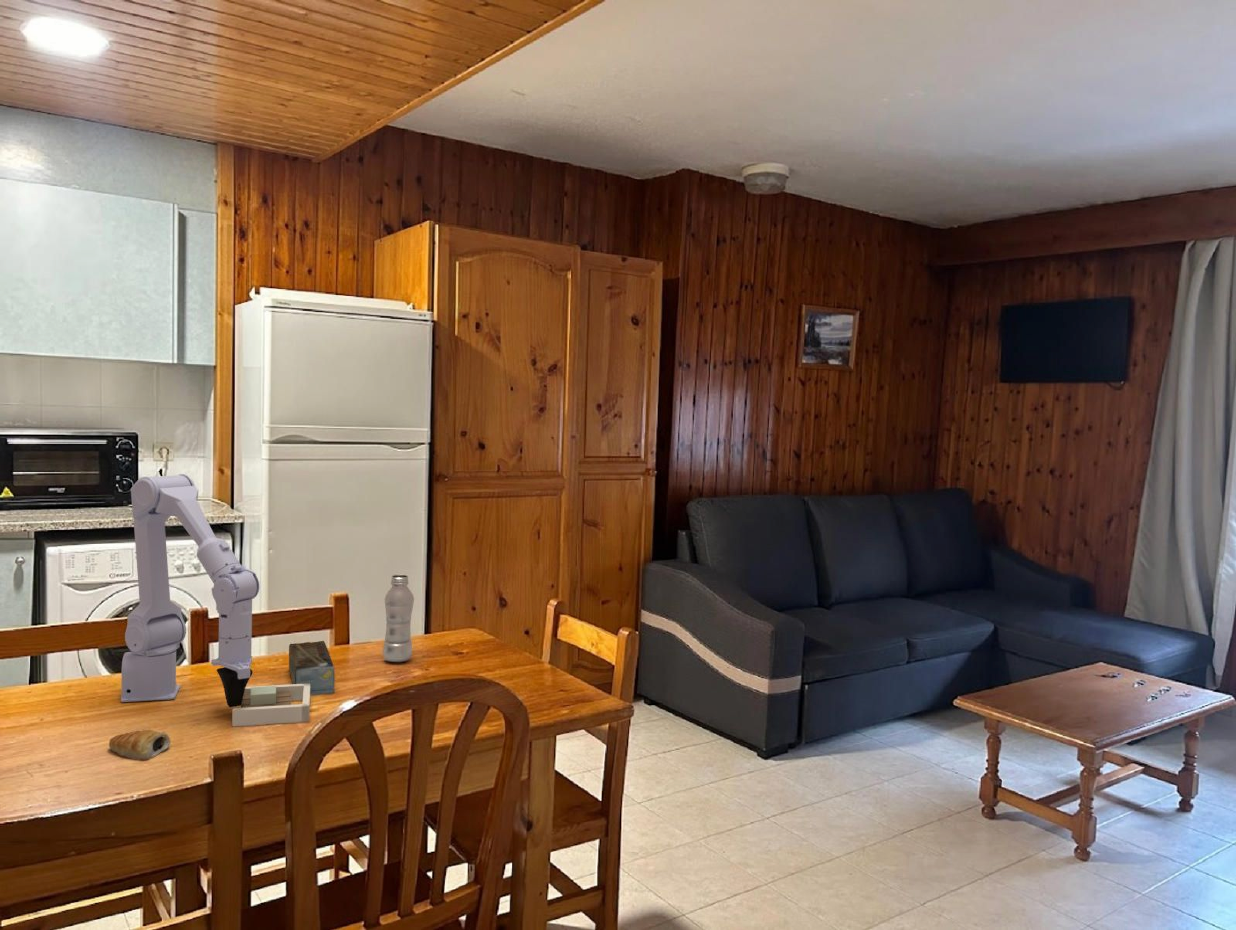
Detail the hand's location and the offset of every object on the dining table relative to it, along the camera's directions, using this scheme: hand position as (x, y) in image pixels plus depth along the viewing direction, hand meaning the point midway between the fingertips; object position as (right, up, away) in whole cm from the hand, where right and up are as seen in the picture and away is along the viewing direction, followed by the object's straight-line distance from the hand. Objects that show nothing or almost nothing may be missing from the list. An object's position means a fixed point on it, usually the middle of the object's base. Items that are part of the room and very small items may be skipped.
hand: (234, 705), depth 168 cm
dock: (+6, -2, +2) cm, 7 cm away
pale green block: (+5, 0, +2) cm, 5 cm away
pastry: (-8, -3, -19) cm, 20 cm away
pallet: (+5, -2, +3) cm, 6 cm away
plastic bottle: (+22, 0, +38) cm, 44 cm away
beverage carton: (+7, -1, +21) cm, 22 cm away
